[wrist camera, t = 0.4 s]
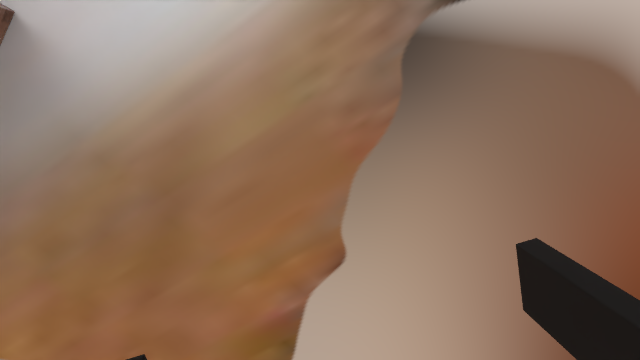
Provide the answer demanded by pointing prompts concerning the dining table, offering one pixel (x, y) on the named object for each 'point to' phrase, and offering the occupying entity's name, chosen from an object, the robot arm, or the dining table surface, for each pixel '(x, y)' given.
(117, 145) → the dining table surface
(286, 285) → the dining table surface
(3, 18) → the open box
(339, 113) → the dining table surface
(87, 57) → the dining table surface
